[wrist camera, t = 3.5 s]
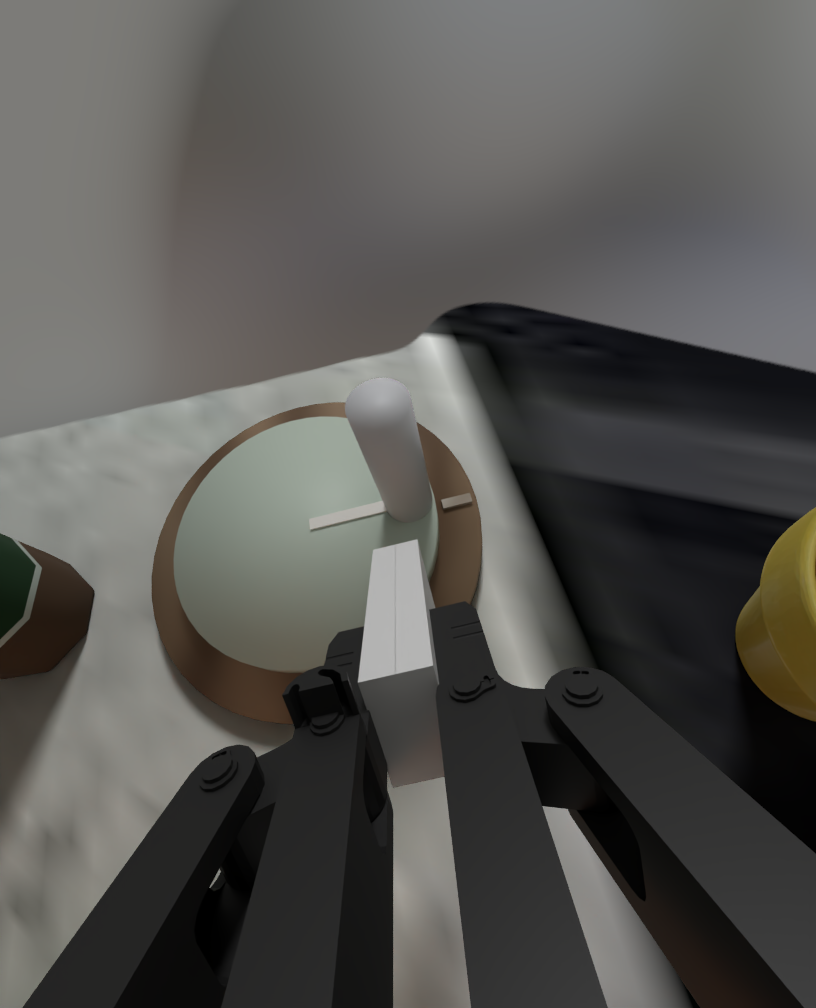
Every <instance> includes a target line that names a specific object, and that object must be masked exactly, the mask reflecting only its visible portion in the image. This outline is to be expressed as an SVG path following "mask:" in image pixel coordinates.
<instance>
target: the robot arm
mask: <svg viewBox="0 0 816 1008" xmlns="http://www.w3.org/2000/svg"><path fill="white" fill-rule="evenodd" d="M282 697H283V699H284V702H285V704H286V707H287V709H288V712H289V714H290V717H291V719H292V722H293V724H294V727H295V732H294V735H293V739H292V740H290V741H289V742H287V743H285V744H284V745H282V746H280V747H278V748H276V749H274V750H272V751H270V752H268V753H266V754H264V755H261V756H259V757H256V755H255V753H254V752H253V751H252V750H251V748H250V747H249V746H243V745H234V746H229V747H226V748H223V749H221V750H219V751H217V752H215V753H213V754H212V755H210V756H209V757H208V758H206V759H205V760H204V761H202V762H201V763H200V764H199V765H198V766H197V767H196V768H195V770H194V771H193V772H192V773H191V774H190V775H189V777H188V778H187V779H186V781H185V782H184V784H183V785H182V786H181V788H180V789H179V791H178V792H177V793H176V795H175V796H174V798H173V799H172V800H171V802H170V803H169V805H168V806H167V807H166V809H165V810H164V811H163V813H162V814H161V816H160V817H159V818H158V820H157V821H156V823H155V824H154V825H153V827H152V828H151V830H150V831H149V832H148V834H147V835H146V837H145V838H144V839H143V841H142V842H141V843H140V845H139V846H138V848H137V849H136V850H135V852H134V853H133V855H132V856H131V857H130V859H129V860H128V862H127V863H126V864H125V866H124V867H123V869H122V870H121V871H120V873H119V874H118V875H117V877H116V878H115V880H114V881H113V882H112V884H111V885H110V887H109V888H108V889H107V891H106V892H105V894H104V895H103V896H102V898H101V899H100V901H99V902H98V903H97V905H96V906H95V907H94V909H93V910H92V912H91V913H90V914H89V916H88V917H87V919H86V920H85V921H84V923H83V924H82V926H81V927H80V928H79V930H78V931H77V933H76V934H75V935H74V937H73V938H72V939H71V941H70V942H69V944H68V945H67V946H66V948H65V949H64V951H63V952H62V953H61V955H60V956H59V958H58V959H57V960H56V962H55V963H54V965H53V966H52V967H51V969H50V970H49V971H48V973H47V974H46V976H45V977H44V978H43V980H42V981H41V983H40V984H39V985H38V987H37V988H36V990H35V991H34V992H33V994H32V995H31V997H30V998H29V999H28V1001H27V1002H26V1003H25V1005H24V1006H23V1008H393V809H392V804H391V800H390V797H389V794H388V792H387V771H388V774H389V777H390V780H391V783H392V786H393V788H394V787H398V786H403V785H407V784H412V783H417V782H421V781H426V780H431V779H435V778H440V777H445V784H446V793H447V801H448V810H449V819H450V827H451V836H452V845H453V853H454V862H455V871H456V879H457V888H458V897H459V905H460V914H461V923H462V931H463V940H464V949H465V958H466V966H467V975H468V984H469V992H470V1001H471V1008H608V1007H607V1004H606V1001H605V998H604V995H603V992H602V989H601V986H600V983H599V980H598V977H597V974H596V970H595V967H594V964H593V961H592V958H591V955H590V952H589V949H588V946H587V943H586V940H585V937H584V934H583V930H582V927H581V924H580V921H579V918H578V915H577V912H576V909H575V906H574V903H573V900H572V897H571V894H570V890H569V887H568V884H567V881H566V878H565V875H564V872H563V869H562V866H561V863H560V860H559V857H558V854H557V850H556V847H555V844H554V841H553V838H552V835H551V832H550V829H549V826H548V823H547V820H546V817H545V814H544V810H543V807H542V806H548V807H556V808H565V809H568V811H569V813H570V815H571V817H572V818H573V820H574V821H575V823H576V824H577V826H578V827H579V829H580V830H581V832H582V833H583V835H584V836H585V837H586V839H587V840H588V842H589V843H590V845H591V846H592V848H593V849H594V851H595V852H596V854H597V855H598V857H599V858H600V860H601V861H602V863H603V864H604V866H605V867H606V869H607V870H608V872H609V873H610V875H611V876H612V877H613V879H614V880H615V882H616V883H617V885H618V886H619V888H620V889H621V891H622V892H623V894H624V895H625V897H626V898H627V900H628V901H629V903H630V904H631V906H632V907H633V909H634V910H635V912H636V913H637V915H638V916H639V917H640V919H641V920H642V922H643V923H644V925H645V926H646V928H647V929H648V931H649V932H650V934H651V935H652V937H653V938H654V940H655V941H656V943H657V944H658V946H659V947H660V949H661V950H662V952H663V953H664V955H665V956H666V957H667V959H668V960H669V962H670V963H671V965H672V966H673V968H674V969H675V971H676V972H677V974H678V975H679V977H680V978H681V980H682V981H683V983H684V984H685V986H686V987H687V989H688V990H689V992H690V993H691V994H692V996H693V997H694V999H695V1000H696V1002H697V1003H698V1005H699V1006H700V1008H816V854H815V853H814V852H813V851H812V850H811V849H810V848H809V847H807V846H806V845H805V844H804V843H803V842H802V841H801V840H799V839H798V838H797V837H796V836H795V835H794V834H792V833H791V832H790V831H789V830H788V829H787V828H786V827H784V826H783V825H782V824H781V823H780V822H779V821H778V820H776V819H775V818H774V817H773V816H772V815H771V814H770V813H768V812H767V811H766V810H765V809H764V808H763V807H762V806H760V805H759V804H758V803H757V802H756V801H755V800H754V799H752V798H751V797H750V796H749V795H748V794H747V793H746V792H744V791H743V790H742V789H741V788H740V787H739V786H738V785H736V784H735V783H734V782H733V781H732V780H731V779H729V778H728V777H727V776H726V775H725V774H724V773H723V772H721V771H720V770H719V769H718V768H717V767H716V766H715V765H713V764H712V763H711V762H710V761H709V760H708V759H707V758H705V757H704V756H703V755H702V754H701V753H700V752H699V751H697V750H696V749H695V748H694V747H693V746H692V745H691V744H689V743H688V742H687V741H686V740H685V739H684V738H683V737H681V736H680V735H679V734H678V733H677V732H676V731H675V730H673V729H672V728H671V727H670V726H669V725H668V724H666V723H665V722H664V721H663V720H662V719H661V718H660V717H658V716H657V715H656V714H655V713H654V712H653V711H652V710H650V709H649V708H648V707H647V706H646V705H645V704H644V703H642V702H641V701H640V700H639V699H638V698H637V697H636V696H634V695H633V694H632V693H631V692H630V691H629V690H628V689H626V688H625V687H624V686H623V685H622V684H621V683H620V682H618V681H617V680H616V679H615V678H614V677H612V676H610V675H609V674H607V673H605V672H604V671H601V670H597V669H593V668H590V667H573V668H569V669H566V670H562V671H560V672H558V673H557V674H555V675H554V676H552V677H551V678H550V680H549V681H548V682H547V684H546V685H545V689H529V688H521V687H518V686H514V685H511V684H510V683H508V682H506V681H504V680H503V679H502V678H501V677H500V676H499V675H498V673H497V671H496V669H495V666H494V663H493V660H492V657H491V654H490V651H489V648H488V645H487V642H486V638H485V635H484V633H483V629H482V626H481V623H480V620H479V617H478V614H477V611H476V609H475V608H474V607H472V606H471V605H470V604H468V603H467V602H466V601H464V602H459V603H455V604H451V605H447V606H442V607H438V608H435V605H434V601H433V597H432V593H431V589H430V586H429V582H428V578H427V574H426V570H425V566H424V563H423V559H422V555H421V551H420V547H419V543H418V540H417V539H416V540H412V541H408V542H404V543H400V544H395V545H391V546H387V547H383V548H379V549H375V550H373V555H372V564H371V572H370V581H369V590H368V598H367V607H366V616H365V625H364V626H363V627H358V628H354V629H350V630H345V631H341V632H338V633H337V635H336V636H335V637H334V639H333V640H332V641H331V643H330V644H329V645H328V650H327V654H326V661H325V663H324V666H319V667H316V668H313V669H310V670H308V671H306V672H304V673H303V674H301V675H299V676H298V677H296V678H295V679H294V680H293V681H292V682H291V683H290V684H289V685H288V686H287V687H286V689H285V691H284V693H283V694H282ZM219 868H220V870H221V873H220V875H219V877H218V878H217V880H216V881H215V883H214V884H213V885H212V887H211V888H209V887H210V885H211V883H212V881H213V879H214V878H215V876H216V874H217V872H218V870H219Z"/></svg>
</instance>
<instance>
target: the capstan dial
mask: <svg viewBox="0 0 816 1008" xmlns="http://www.w3.org/2000/svg"><path fill="white" fill-rule="evenodd" d="M345 413H346V417H347V418H342V417H311V418H304V419H299V420H294V421H290V422H286V423H283V424H280V425H277V426H274V427H272V428H270V429H267V430H265V431H263V432H261V433H259V434H257V435H255V436H253V437H252V438H250V439H248V440H246V441H245V442H244V443H242V444H241V445H239V446H238V447H236V448H235V449H234V450H232V451H231V452H230V453H229V454H228V455H226V456H225V457H224V458H223V459H222V460H221V461H220V462H219V463H218V464H217V465H216V466H215V467H214V468H213V469H212V470H211V471H210V472H209V473H208V475H207V476H206V477H205V478H204V480H203V481H202V482H201V484H200V485H199V487H198V488H197V490H196V491H195V493H194V494H193V496H192V498H191V500H190V502H189V504H188V506H187V508H186V510H185V512H184V514H183V517H182V520H181V523H180V525H179V529H178V533H177V537H176V541H175V549H174V578H175V584H176V590H177V593H178V596H179V599H180V602H181V605H182V607H183V609H184V611H185V613H186V615H187V617H188V619H189V621H190V622H191V623H192V625H193V626H194V628H195V629H196V630H197V632H198V633H199V634H200V635H201V636H202V637H203V638H204V639H205V640H206V641H207V642H208V643H209V644H210V645H212V646H213V647H215V648H216V649H218V650H219V651H220V652H222V653H223V654H225V655H227V656H229V657H231V658H233V659H235V660H238V661H240V662H242V663H246V664H249V665H252V666H256V667H259V668H263V669H266V670H270V671H276V672H284V673H304V672H306V671H308V670H310V669H313V668H316V667H319V666H324V663H325V661H326V654H327V650H328V645H329V644H330V643H331V641H332V640H333V639H334V637H335V636H336V635H337V633H338V632H341V631H345V630H350V629H354V628H358V627H363V626H364V625H365V616H366V607H367V598H368V590H369V581H370V572H371V564H372V555H373V550H375V549H379V548H383V547H387V546H391V545H395V544H400V543H404V542H408V541H412V540H416V539H417V540H418V543H419V547H420V551H421V555H422V559H423V563H424V566H425V570H426V574H427V578H428V582H429V581H430V579H431V576H432V574H433V571H434V567H435V563H436V559H437V555H438V547H439V519H438V514H437V508H436V503H435V498H434V494H433V491H432V488H431V485H430V482H429V479H428V474H427V469H426V465H425V460H424V455H423V451H422V446H421V442H420V437H419V432H418V428H417V423H416V418H415V414H414V409H413V405H412V400H411V395H410V393H409V391H408V389H407V388H406V386H405V385H403V384H402V383H401V382H399V381H397V380H395V379H391V378H374V379H370V380H367V381H365V382H363V383H361V384H360V385H358V386H357V387H356V388H355V389H354V390H353V391H352V392H351V393H350V394H349V396H348V398H347V400H346V404H345Z"/></svg>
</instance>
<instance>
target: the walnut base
mask: <svg viewBox="0 0 816 1008" xmlns="http://www.w3.org/2000/svg"><path fill="white" fill-rule="evenodd" d="M345 404H346V403H324V404H314V405H310V406H305V407H300V408H296V409H292V410H289V411H286V412H283V413H280V414H277V415H275V416H272V417H270V418H268V419H265V420H263V421H261V422H259V423H257V424H255V425H254V426H252V427H250V428H248V429H246V430H244V431H243V432H241V433H240V434H238V435H237V436H236V437H234V438H233V439H231V440H230V441H228V442H227V443H226V444H225V445H223V446H222V447H221V448H220V449H219V450H217V451H216V452H215V453H214V454H213V455H212V456H211V457H210V458H209V459H208V460H207V461H206V462H205V463H204V464H203V465H202V466H201V467H200V468H199V469H198V470H197V471H196V473H195V474H194V475H193V476H192V478H191V479H190V480H189V481H188V483H187V484H186V485H185V487H184V488H183V490H182V492H181V493H180V495H179V496H178V498H177V499H176V501H175V503H174V505H173V507H172V509H171V511H170V512H169V514H168V516H167V518H166V521H165V524H164V526H163V529H162V531H161V534H160V537H159V540H158V544H157V548H156V552H155V556H154V564H153V571H152V602H153V609H154V616H155V620H156V624H157V627H158V630H159V634H160V637H161V639H162V642H163V644H164V646H165V648H166V650H167V652H168V654H169V656H170V658H171V659H172V661H173V662H174V664H175V665H176V667H177V668H178V670H179V671H180V672H181V674H182V675H183V676H184V677H185V678H186V679H187V680H188V681H189V682H190V683H191V684H192V685H193V686H194V687H195V688H196V689H197V690H198V691H199V692H201V693H202V694H203V695H205V696H206V697H207V698H209V699H210V700H211V701H213V702H214V703H216V704H218V705H220V706H222V707H224V708H226V709H228V710H230V711H232V712H234V713H237V714H240V715H243V716H246V717H249V718H252V719H255V720H260V721H267V722H274V723H280V724H293V722H292V719H291V717H290V714H289V712H288V709H287V707H286V704H285V702H284V699H283V697H282V694H283V693H284V691H285V689H286V687H287V686H288V685H289V684H290V683H291V682H292V681H293V680H294V679H295V678H296V677H298V676H299V675H301V674H303V673H284V672H276V671H270V670H266V669H263V668H259V667H256V666H252V665H249V664H246V663H242V662H240V661H238V660H235V659H233V658H231V657H229V656H227V655H225V654H223V653H222V652H220V651H219V650H218V649H216V648H215V647H213V646H212V645H210V644H209V643H208V642H207V641H206V640H205V639H204V638H203V637H202V636H201V635H200V634H199V633H198V632H197V630H196V629H195V628H194V626H193V625H192V623H191V622H190V621H189V619H188V617H187V615H186V613H185V611H184V609H183V607H182V605H181V602H180V599H179V596H178V593H177V590H176V584H175V578H174V549H175V541H176V537H177V533H178V529H179V525H180V523H181V520H182V517H183V514H184V512H185V510H186V508H187V506H188V504H189V502H190V500H191V498H192V496H193V494H194V493H195V491H196V490H197V488H198V487H199V485H200V484H201V482H202V481H203V480H204V478H205V477H206V476H207V475H208V473H209V472H210V471H211V470H212V469H213V468H214V467H215V466H216V465H217V464H218V463H219V462H220V461H221V460H222V459H223V458H224V457H225V456H226V455H228V454H229V453H230V452H231V451H232V450H234V449H235V448H236V447H238V446H239V445H241V444H242V443H244V442H245V441H246V440H248V439H250V438H252V437H253V436H255V435H257V434H259V433H261V432H263V431H265V430H267V429H270V428H272V427H274V426H277V425H280V424H283V423H286V422H290V421H294V420H299V419H304V418H311V417H342V418H347V417H346V413H345ZM416 423H417V422H416ZM417 428H418V432H419V437H420V442H421V446H422V451H423V455H424V460H425V465H426V469H427V474H428V479H429V482H430V485H431V488H432V491H433V494H434V498H435V503H436V508H437V514H438V519H439V547H438V555H437V559H436V563H435V567H434V571H433V574H432V576H431V579H430V581H429V586H430V589H431V593H432V597H433V601H434V605H435V608H438V607H442V606H447V605H451V604H455V603H459V602H464V601H466V602H467V603H468V604H470V605H471V603H472V600H473V597H474V594H475V592H476V588H477V583H478V578H479V574H480V569H481V556H482V531H481V518H480V513H479V509H478V504H477V500H476V496H475V494H474V491H473V489H472V486H471V483H470V481H469V478H468V477H467V475H466V473H465V471H464V470H463V468H462V466H461V464H460V463H459V461H458V460H457V459H456V457H455V456H454V455H453V454H452V452H451V451H450V450H449V448H448V447H447V446H446V445H445V444H444V443H443V442H442V441H441V440H440V439H438V438H437V437H436V436H435V435H434V434H433V433H431V432H430V431H429V430H427V429H426V428H425V427H423V426H422V425H420V424H419V423H417Z"/></svg>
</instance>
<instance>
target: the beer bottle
mask: <svg viewBox="0 0 816 1008" xmlns="http://www.w3.org/2000/svg"><path fill="white" fill-rule="evenodd" d="M93 596H94V590H93V588H92V587H91V586H90V585H89V584H88V583H87V582H86V581H85V580H84V579H83V578H82V577H81V576H80V575H79V573H78V572H77V571H76V570H75V569H74V568H73V567H72V566H71V565H70V564H68V563H66V562H64V561H62V560H60V559H58V558H56V557H54V556H52V555H50V554H48V553H46V552H43V551H41V550H38V549H36V548H34V547H31V546H29V545H26V544H24V543H22V542H19V541H17V540H14V539H12V538H10V537H7V536H5V535H2V534H0V679H6V678H12V677H18V676H24V675H30V674H36V673H42V672H47V671H50V670H52V669H53V668H54V667H55V666H56V665H57V664H58V663H59V662H60V660H61V659H62V658H63V657H64V656H65V655H66V654H67V653H68V652H69V651H70V650H71V649H72V648H73V647H74V646H75V645H76V644H77V643H78V642H79V641H80V640H81V639H82V638H83V636H84V635H85V634H86V633H87V629H88V623H89V618H90V612H91V607H92V602H93Z"/></svg>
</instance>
